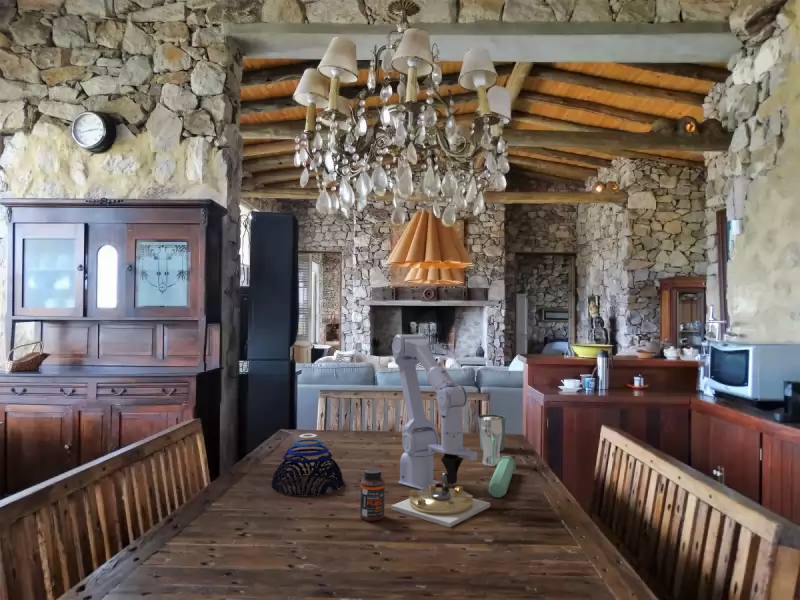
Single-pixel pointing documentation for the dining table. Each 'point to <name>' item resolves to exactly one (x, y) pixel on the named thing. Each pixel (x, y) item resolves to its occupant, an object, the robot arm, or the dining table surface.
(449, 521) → the dial plate
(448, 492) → the brass round disc
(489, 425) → the beer glass
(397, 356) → the robot arm
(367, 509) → the supplement bottle
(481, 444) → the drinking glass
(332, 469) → the decorative bowl
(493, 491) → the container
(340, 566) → the dining table surface
